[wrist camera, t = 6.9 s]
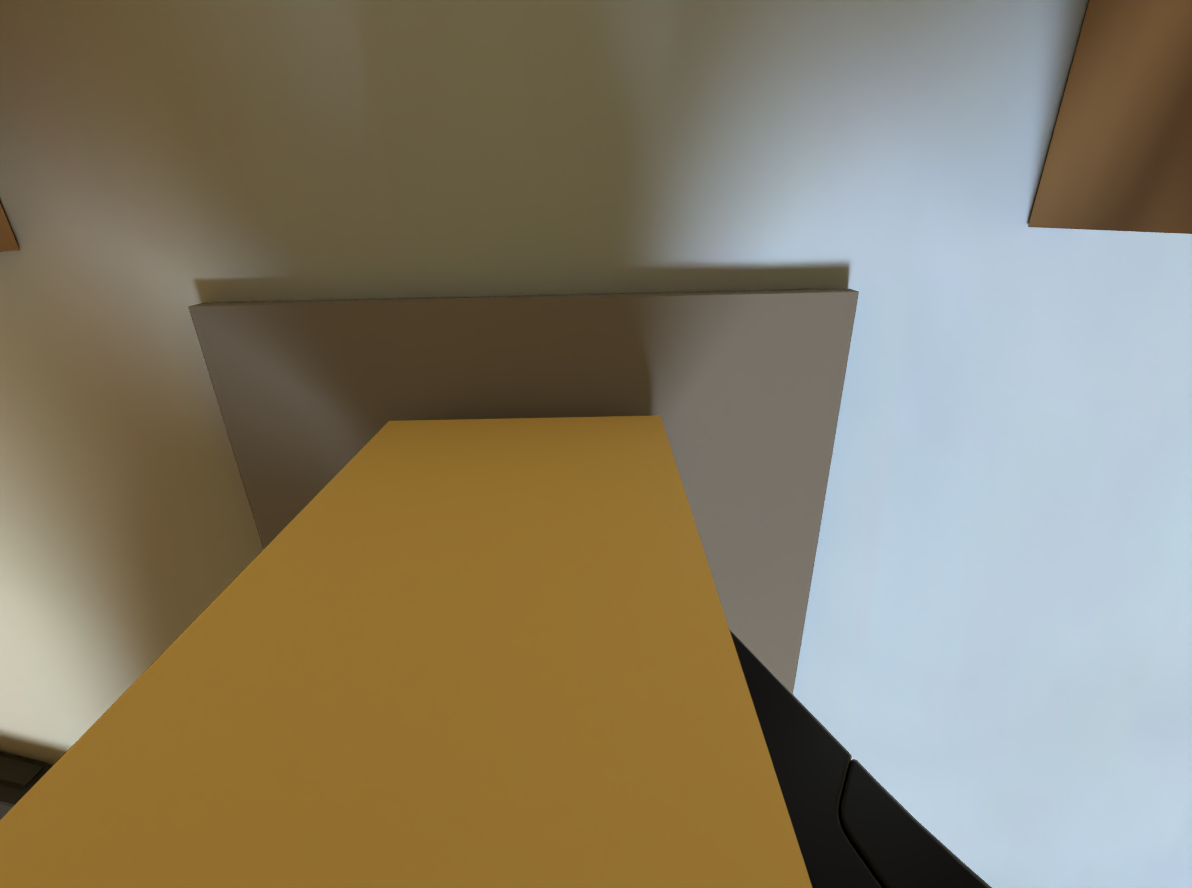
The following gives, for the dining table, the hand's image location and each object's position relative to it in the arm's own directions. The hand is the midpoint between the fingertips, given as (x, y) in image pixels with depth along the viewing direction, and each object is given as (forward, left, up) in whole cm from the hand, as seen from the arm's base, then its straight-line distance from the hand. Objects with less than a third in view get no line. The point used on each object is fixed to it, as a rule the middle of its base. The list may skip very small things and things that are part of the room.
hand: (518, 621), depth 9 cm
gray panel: (0, 0, -4) cm, 4 cm away
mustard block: (0, 0, -2) cm, 2 cm away
